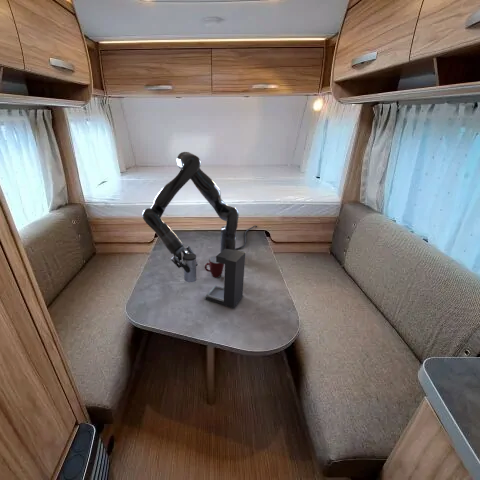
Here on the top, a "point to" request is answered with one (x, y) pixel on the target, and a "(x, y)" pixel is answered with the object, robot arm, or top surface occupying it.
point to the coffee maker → (229, 278)
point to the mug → (214, 267)
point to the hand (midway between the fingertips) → (193, 268)
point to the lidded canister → (190, 267)
